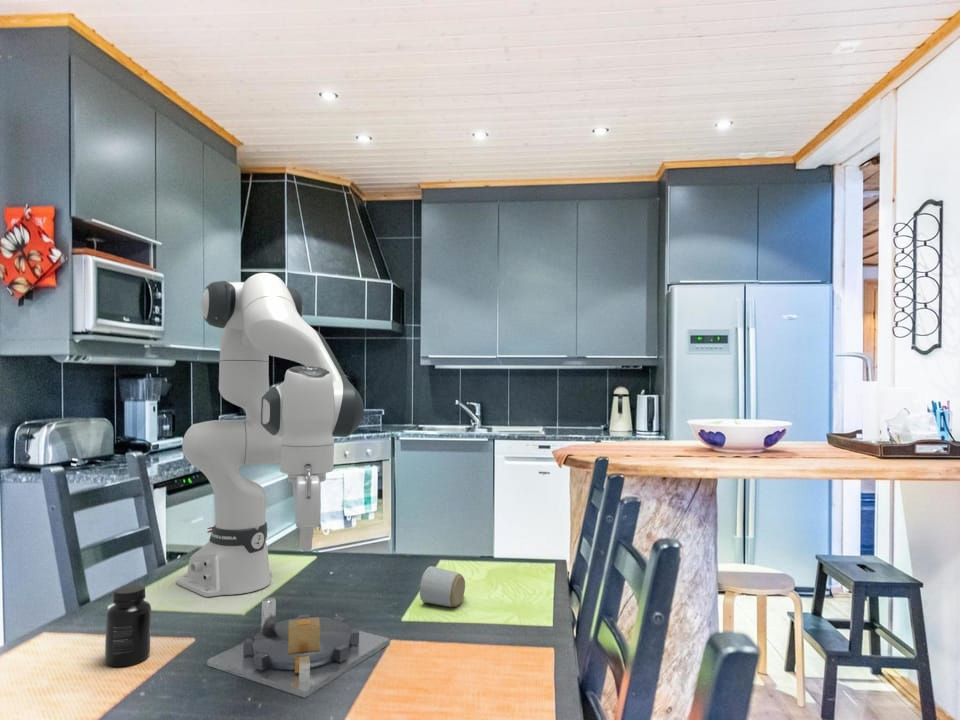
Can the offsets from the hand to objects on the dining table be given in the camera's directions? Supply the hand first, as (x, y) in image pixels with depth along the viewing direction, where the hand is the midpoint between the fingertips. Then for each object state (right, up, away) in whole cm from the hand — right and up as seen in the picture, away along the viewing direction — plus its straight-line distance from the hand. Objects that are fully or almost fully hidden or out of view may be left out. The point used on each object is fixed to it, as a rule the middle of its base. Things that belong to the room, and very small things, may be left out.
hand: (305, 542), depth 105 cm
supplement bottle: (-31, -21, +2) cm, 38 cm away
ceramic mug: (+22, -23, +31) cm, 44 cm away
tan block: (0, -18, -1) cm, 18 cm away
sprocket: (-2, -20, +4) cm, 20 cm away
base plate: (-2, -21, +4) cm, 22 cm away
